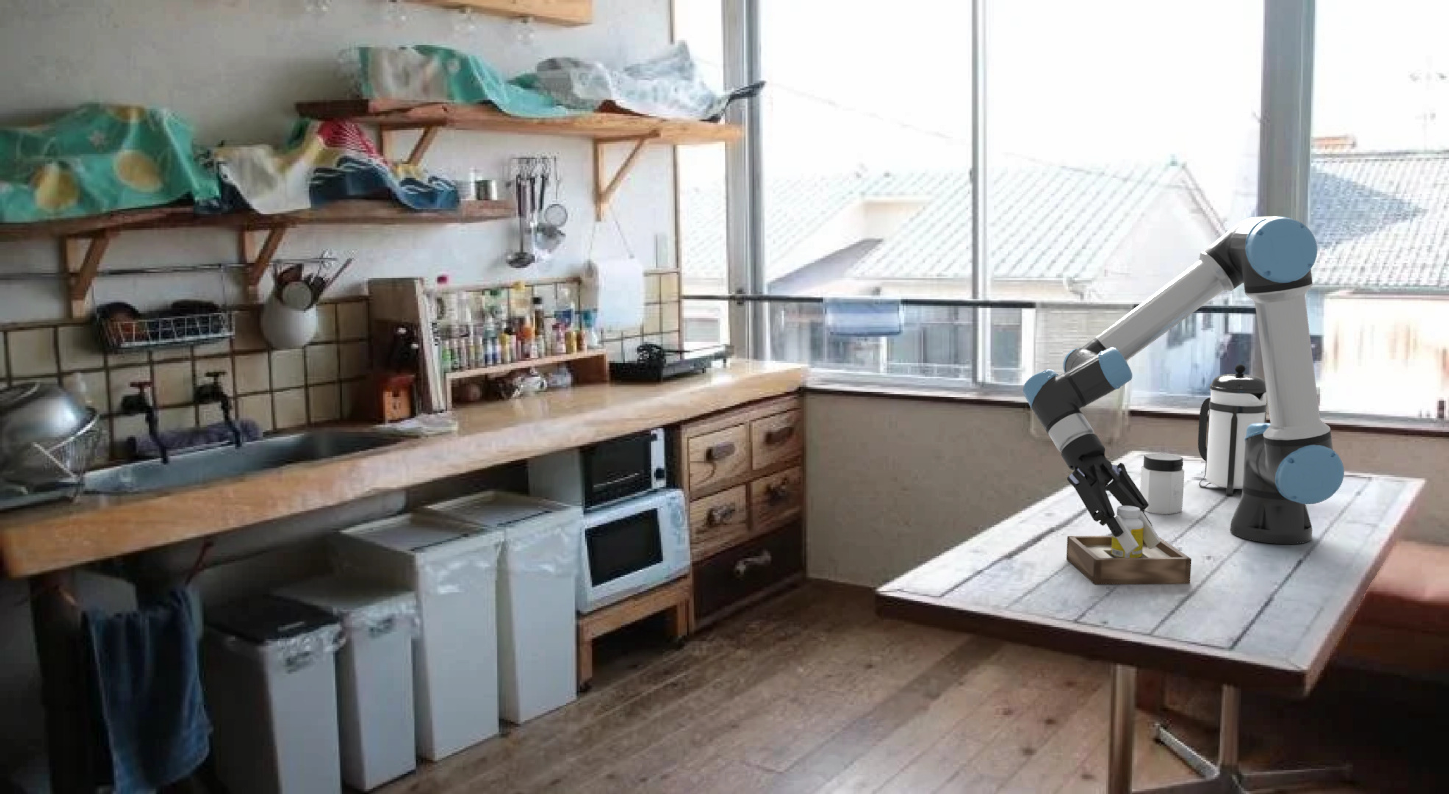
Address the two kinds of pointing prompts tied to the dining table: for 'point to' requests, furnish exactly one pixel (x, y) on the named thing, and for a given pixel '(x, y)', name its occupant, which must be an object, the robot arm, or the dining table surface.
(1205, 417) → the coffee press
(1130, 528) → the supplement bottle
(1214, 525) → the dining table surface
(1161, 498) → the jar
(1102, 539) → the socket box
